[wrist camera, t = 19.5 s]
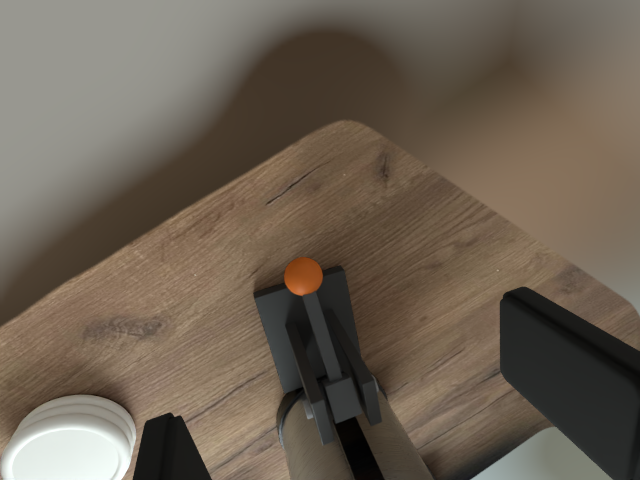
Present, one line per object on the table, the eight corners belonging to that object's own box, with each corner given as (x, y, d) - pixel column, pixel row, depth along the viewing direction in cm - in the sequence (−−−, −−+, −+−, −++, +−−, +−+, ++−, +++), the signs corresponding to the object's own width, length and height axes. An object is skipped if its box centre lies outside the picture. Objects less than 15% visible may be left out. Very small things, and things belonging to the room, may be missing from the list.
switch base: (253, 292, 35) (270, 373, 24) (340, 265, 37) (393, 329, 26) (282, 386, 40) (308, 488, 29) (358, 358, 41) (410, 445, 30)
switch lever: (279, 265, 32) (279, 261, 29) (313, 255, 32) (318, 249, 29) (324, 415, 30) (330, 428, 27) (360, 401, 31) (370, 412, 28)
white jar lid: (151, 450, 38) (146, 482, 35) (47, 488, 36) (31, 524, 33) (114, 377, 34) (104, 405, 31) (-5, 414, 32) (-29, 448, 29)
